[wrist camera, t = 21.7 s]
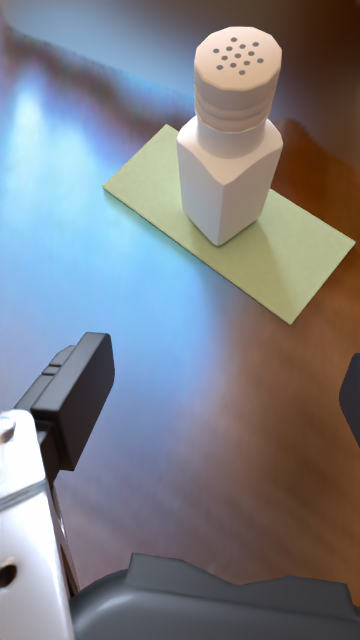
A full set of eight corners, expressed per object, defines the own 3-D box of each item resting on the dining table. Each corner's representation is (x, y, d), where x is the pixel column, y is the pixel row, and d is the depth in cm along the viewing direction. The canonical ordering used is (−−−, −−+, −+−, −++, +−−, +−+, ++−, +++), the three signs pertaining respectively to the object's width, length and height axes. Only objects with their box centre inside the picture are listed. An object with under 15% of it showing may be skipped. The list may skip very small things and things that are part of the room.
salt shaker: (224, 179, 21) (244, 2, 12) (263, 218, 20) (318, 57, 10) (179, 211, 20) (161, 53, 11) (216, 252, 19) (230, 117, 10)
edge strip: (354, 243, 19) (356, 242, 19) (289, 325, 18) (290, 324, 18) (166, 126, 23) (166, 123, 22) (102, 188, 21) (101, 186, 21)
